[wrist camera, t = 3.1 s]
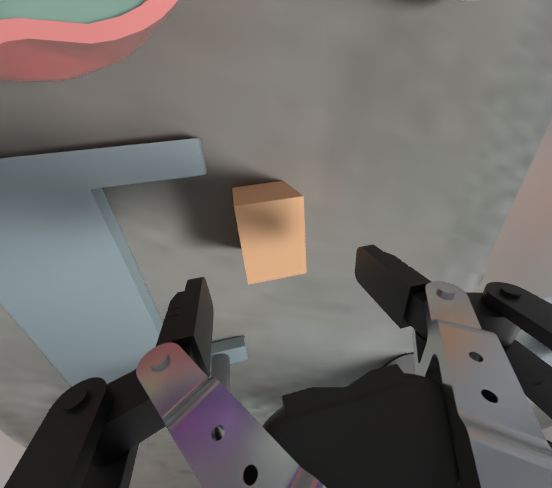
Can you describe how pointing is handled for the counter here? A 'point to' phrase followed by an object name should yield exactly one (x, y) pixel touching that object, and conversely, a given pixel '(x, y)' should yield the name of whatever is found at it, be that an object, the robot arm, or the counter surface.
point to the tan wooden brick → (270, 230)
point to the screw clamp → (87, 258)
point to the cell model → (73, 35)
